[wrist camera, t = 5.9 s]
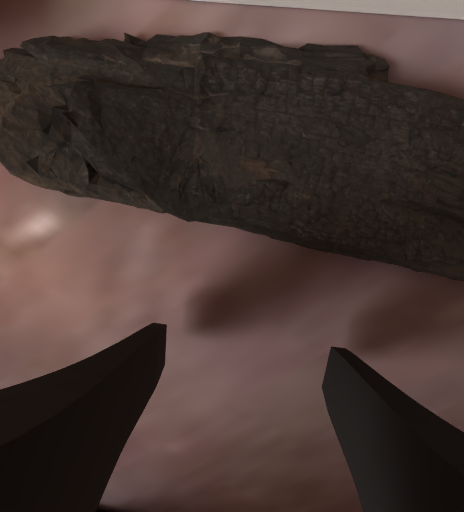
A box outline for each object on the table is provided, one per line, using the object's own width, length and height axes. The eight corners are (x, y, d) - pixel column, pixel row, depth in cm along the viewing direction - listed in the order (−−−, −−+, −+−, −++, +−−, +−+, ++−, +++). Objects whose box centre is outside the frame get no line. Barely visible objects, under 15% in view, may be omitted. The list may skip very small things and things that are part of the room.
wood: (568, 100, 9) (726, 51, 6) (477, 283, 11) (564, 315, 8) (3, -18, 9) (-110, -118, 6) (5, 174, 11) (-83, 165, 8)
